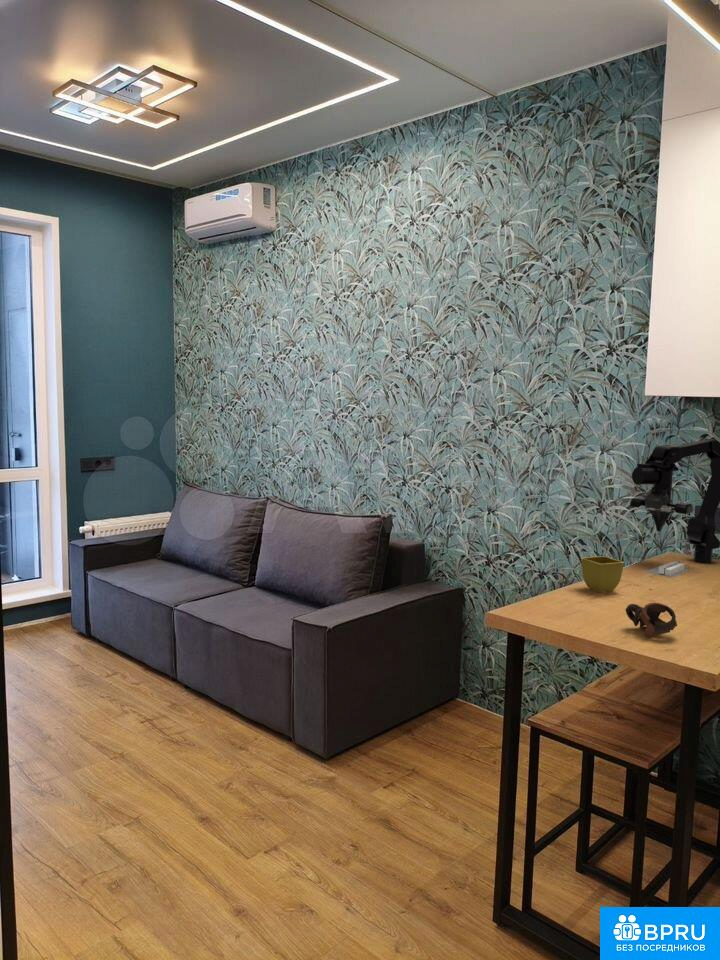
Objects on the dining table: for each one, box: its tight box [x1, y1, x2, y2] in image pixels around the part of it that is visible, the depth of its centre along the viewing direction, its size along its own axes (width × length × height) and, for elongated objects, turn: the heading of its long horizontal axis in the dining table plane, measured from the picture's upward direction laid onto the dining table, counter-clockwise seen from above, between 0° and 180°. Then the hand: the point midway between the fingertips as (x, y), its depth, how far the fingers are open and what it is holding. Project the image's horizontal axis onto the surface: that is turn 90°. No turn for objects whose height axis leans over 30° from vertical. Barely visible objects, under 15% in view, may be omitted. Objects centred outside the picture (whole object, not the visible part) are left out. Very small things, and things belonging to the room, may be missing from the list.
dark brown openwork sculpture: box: [625, 602, 678, 639], centre depth 179 cm, size 12×10×8 cm
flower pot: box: [580, 555, 625, 593], centre depth 216 cm, size 9×9×9 cm
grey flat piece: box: [644, 562, 692, 578], centre depth 239 cm, size 16×9×3 cm, turn 137°
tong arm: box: [659, 560, 681, 574], centre depth 238 cm, size 14×2×2 cm, turn 137°
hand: (658, 531), depth 247 cm, fingers closed
